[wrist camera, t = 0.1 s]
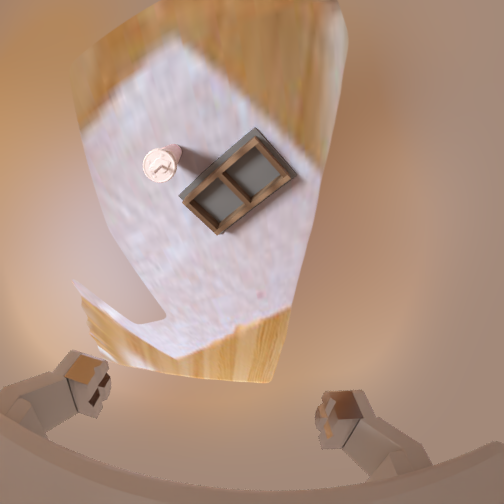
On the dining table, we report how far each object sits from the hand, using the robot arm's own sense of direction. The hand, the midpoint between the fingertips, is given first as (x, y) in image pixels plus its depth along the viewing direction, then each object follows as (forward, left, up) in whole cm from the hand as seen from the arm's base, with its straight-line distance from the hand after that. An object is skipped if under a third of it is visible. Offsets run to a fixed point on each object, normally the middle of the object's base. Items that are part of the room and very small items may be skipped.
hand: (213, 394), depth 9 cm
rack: (+11, +7, -52) cm, 53 cm away
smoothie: (+15, -7, -52) cm, 55 cm away
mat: (+11, +7, -52) cm, 53 cm away
